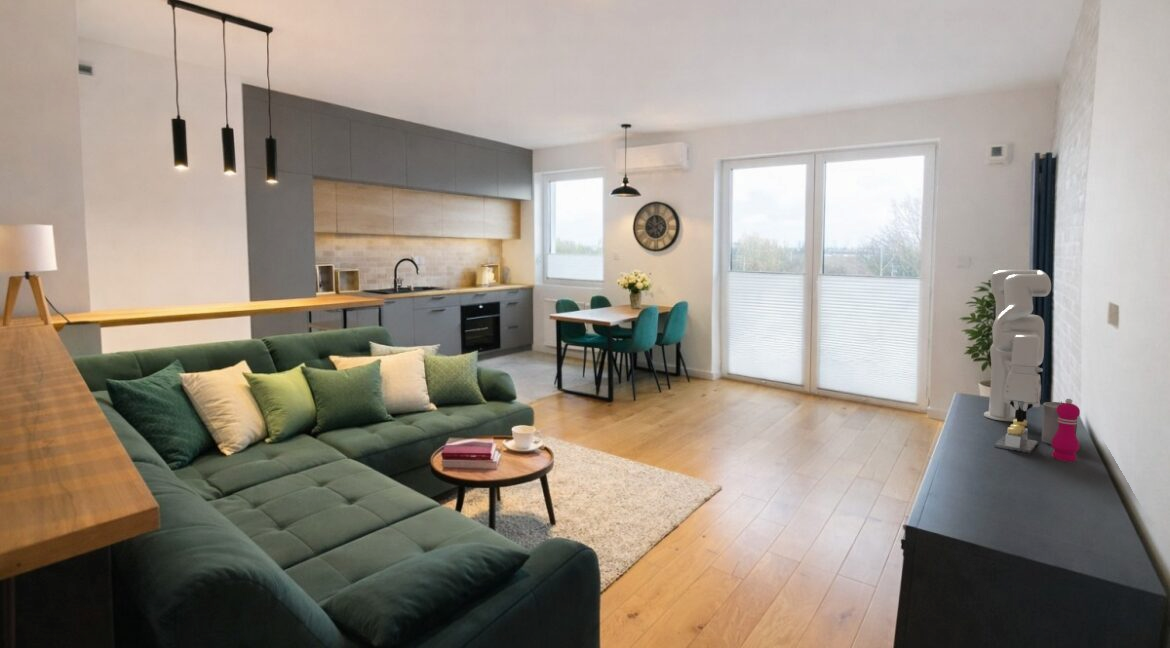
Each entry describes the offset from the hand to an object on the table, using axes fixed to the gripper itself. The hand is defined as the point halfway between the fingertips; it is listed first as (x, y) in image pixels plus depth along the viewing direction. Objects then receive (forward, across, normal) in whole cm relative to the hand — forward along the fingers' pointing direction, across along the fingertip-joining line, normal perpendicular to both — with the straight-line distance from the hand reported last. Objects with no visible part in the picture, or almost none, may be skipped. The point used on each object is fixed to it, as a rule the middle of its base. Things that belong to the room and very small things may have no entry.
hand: (1020, 420), depth 216 cm
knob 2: (+7, 0, +4) cm, 8 cm away
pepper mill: (+8, -14, +10) cm, 19 cm away
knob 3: (+7, 0, +9) cm, 11 cm away
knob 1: (+6, 0, 0) cm, 6 cm away
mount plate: (+8, 0, +4) cm, 9 cm away
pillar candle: (+8, -10, -9) cm, 16 cm away
